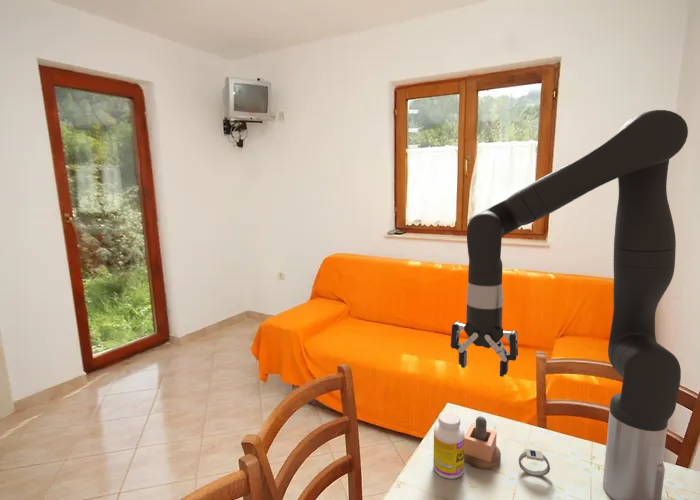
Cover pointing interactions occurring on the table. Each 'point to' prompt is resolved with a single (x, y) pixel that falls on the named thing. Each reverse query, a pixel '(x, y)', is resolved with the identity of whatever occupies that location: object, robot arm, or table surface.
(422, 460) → the table surface
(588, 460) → the table surface
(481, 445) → the pink hollow square block
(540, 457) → the wristwatch
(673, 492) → the table surface
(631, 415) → the robot arm
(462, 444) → the supplement bottle
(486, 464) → the post stand
